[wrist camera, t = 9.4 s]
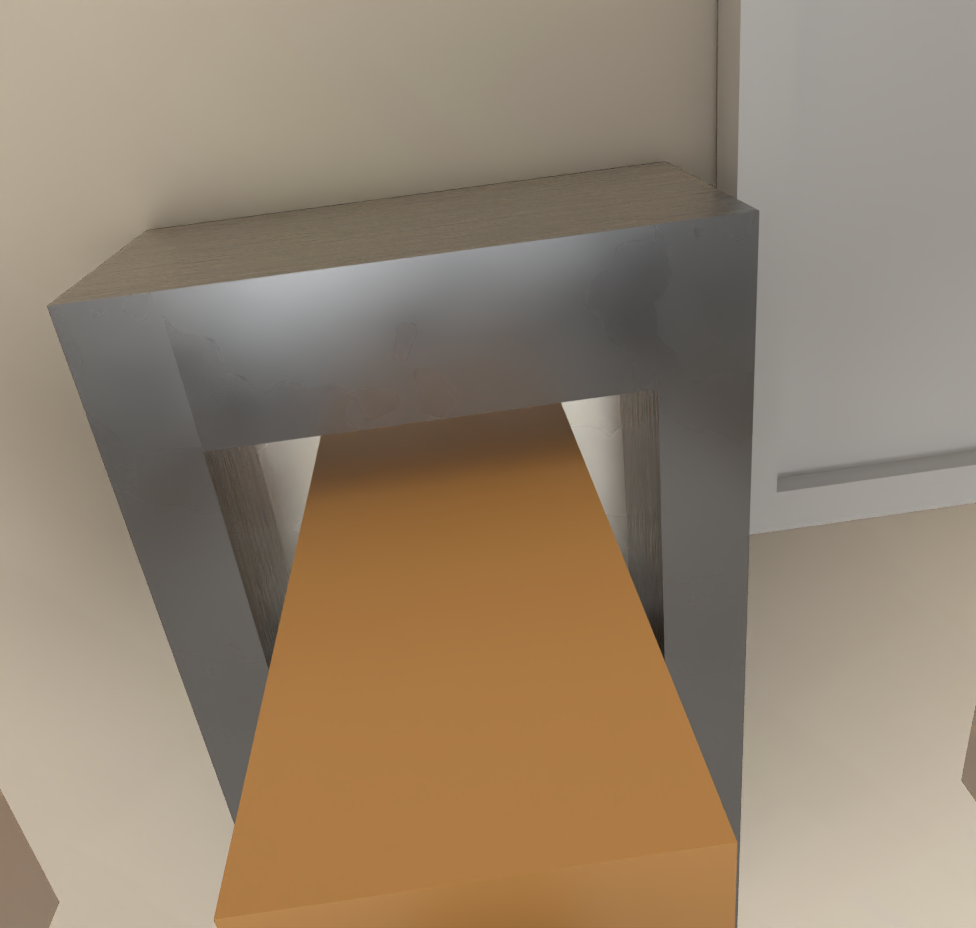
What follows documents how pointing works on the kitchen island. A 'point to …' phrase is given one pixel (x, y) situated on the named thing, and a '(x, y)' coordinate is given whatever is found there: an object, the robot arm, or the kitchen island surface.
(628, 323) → the grey bottle rack
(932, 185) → the tray
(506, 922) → the orange square bottle
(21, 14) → the kitchen island surface
